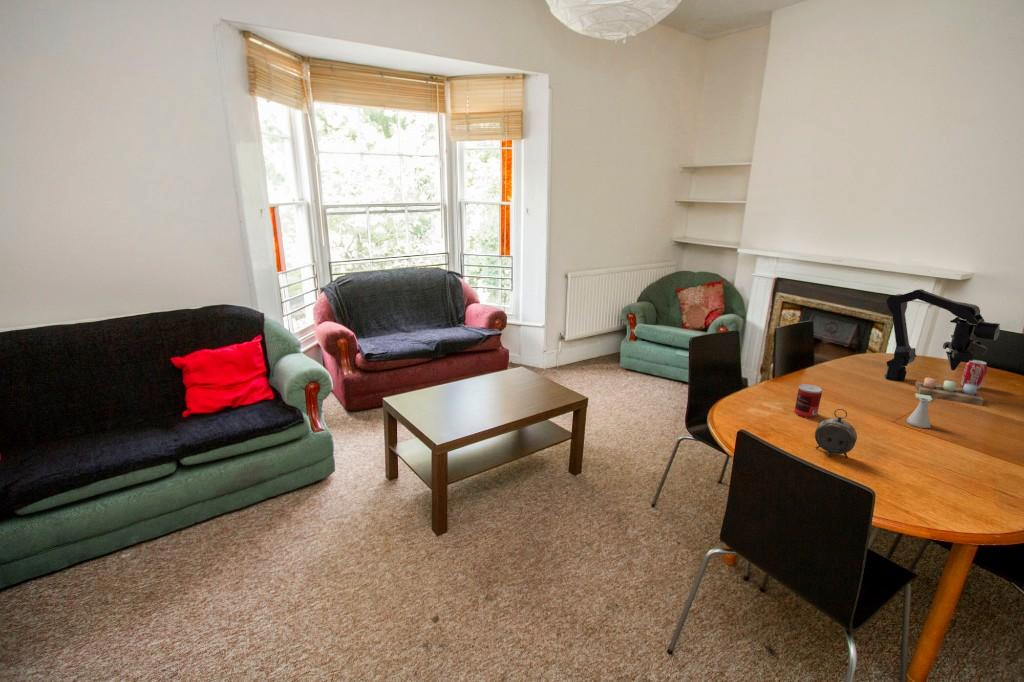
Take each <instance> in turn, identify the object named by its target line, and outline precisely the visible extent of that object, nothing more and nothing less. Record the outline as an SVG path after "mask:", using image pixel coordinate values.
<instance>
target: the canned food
mask: <svg viewBox="0 0 1024 682" xmlns="http://www.w3.org/2000/svg"><path fill="white" fill-rule="evenodd" d="M822 393H823V388H821V387H819V386H817V385H813V384H809V383H807V384H805V383H802V384H800V385H799V386H798V389H797V394H796V395H797V396H796V400H795V405H794V410H793V411H794V413H796V414H795V415H797V414H798V415H800V416H802V417H801V418H804V417H807V418H806V419H815V418H817V416H818V413H819V409H820V408H819V407H820V404H821V400H822ZM798 415H797V416H798ZM800 416H799V417H800Z"/></svg>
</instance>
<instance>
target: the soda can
mask: <svg viewBox="0 0 1024 682" xmlns="http://www.w3.org/2000/svg"><path fill="white" fill-rule="evenodd" d="M987 364H988V363H987V362H986V361H983V360H978V359H974V360H973V361H970V360H968V362H966V363H965V366H964V370H963V373H962V376H961V381H960V385H962V388H963V387H964V384H973V385H976V386H977V390H979V389H981V388H982V387H983V385H984V381H985V379H986V374H987V371H988V365H987Z"/></svg>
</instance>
